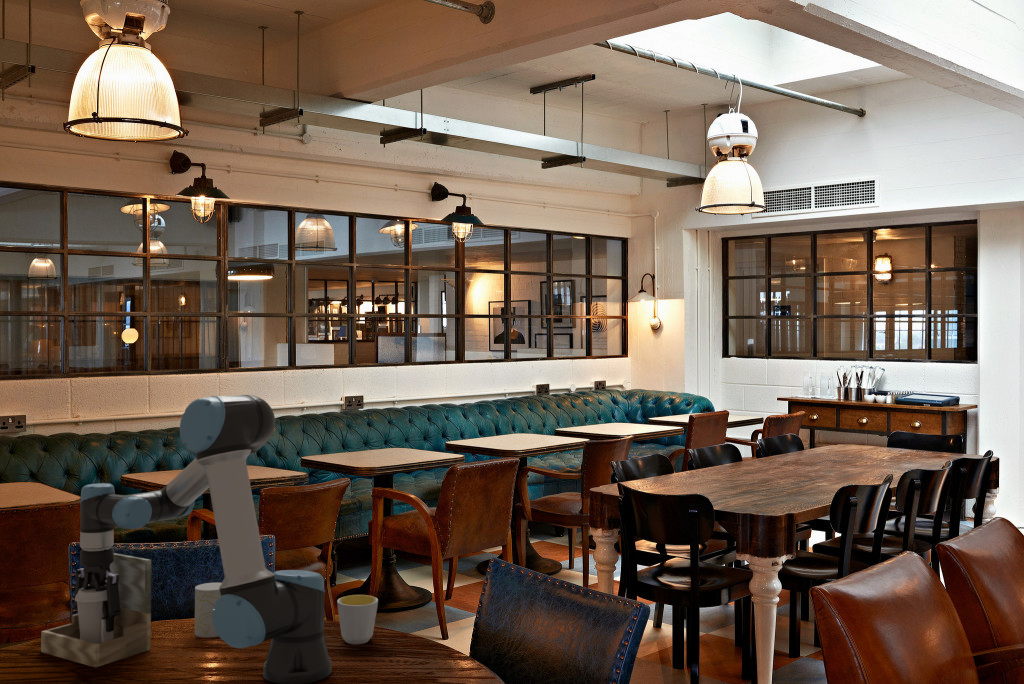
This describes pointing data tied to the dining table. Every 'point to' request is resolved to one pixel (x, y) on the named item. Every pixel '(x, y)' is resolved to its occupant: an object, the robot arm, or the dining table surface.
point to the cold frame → (128, 626)
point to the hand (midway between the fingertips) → (96, 641)
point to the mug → (357, 617)
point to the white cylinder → (205, 608)
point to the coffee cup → (90, 613)
